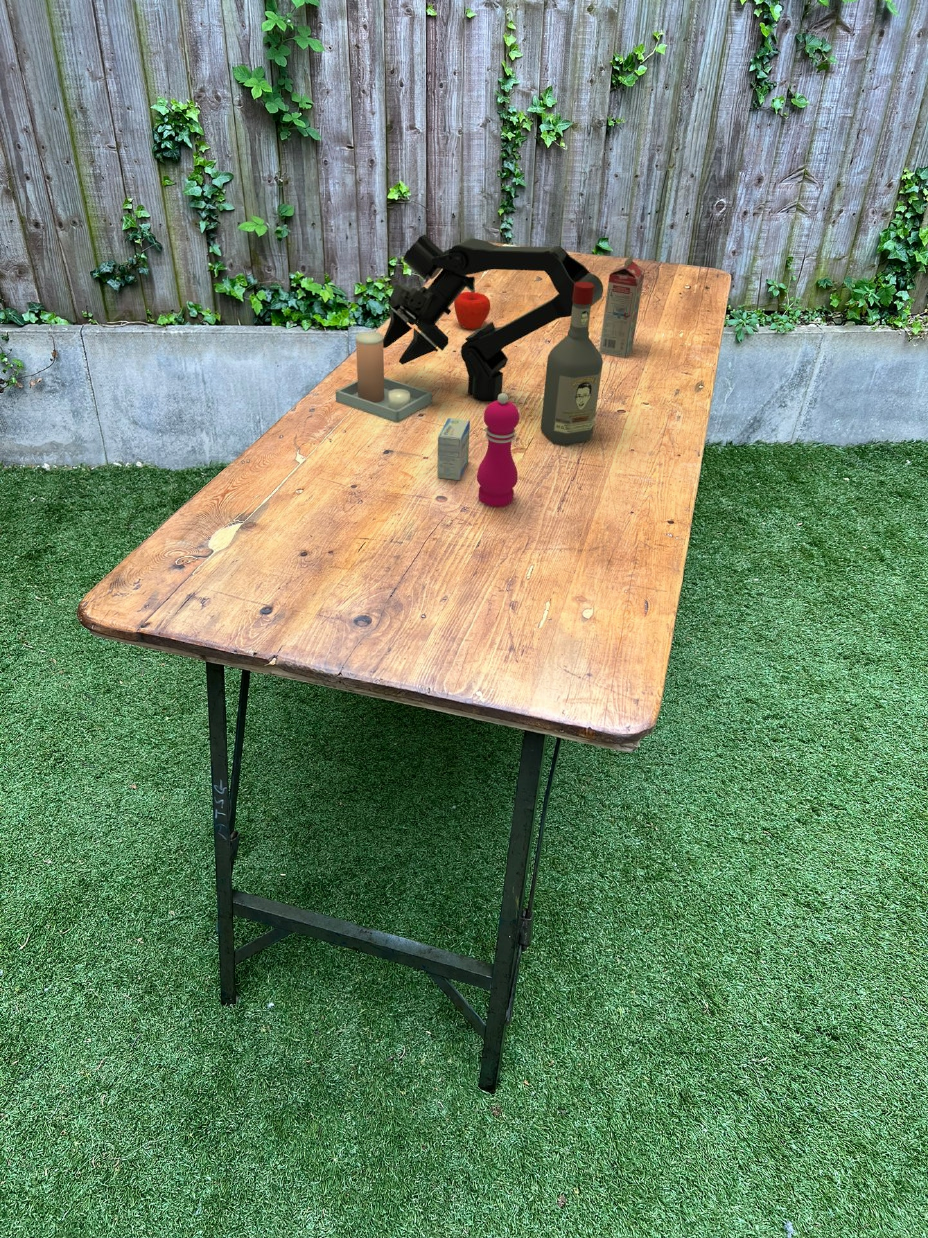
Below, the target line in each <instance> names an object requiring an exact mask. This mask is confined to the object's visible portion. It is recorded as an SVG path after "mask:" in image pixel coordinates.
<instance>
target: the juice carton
mask: <svg viewBox="0 0 928 1238" xmlns="http://www.w3.org/2000/svg"><path fill="white" fill-rule="evenodd" d="M633 259H634V253H631V254H630V255H629V257H628V258H627V259H626V260H625V261H624V263H621V264H619V265H617V266H615V268H614V269H613V270H612V271H611V272H610V273H609V277H608V278H609V279H608V283H607V284H608V285H607V290H606V298H605V306H604V312H603V313H604V314H603V319H602V326H601V333H600V341H599V349H598V351H599V353H600V354H601V355H605V356H610V357H611V356H612V357H615V358H622V359H627V357H628V356H629V354H630V353H631V352H632V350H633V347H634V341H635V336H636V335H635V334H636V329H637V323H638V315H639V310H640V303H641V298H642V297H641V296H642V290H643V285H644V278H645V270H644V268H642V267H641V266H639V265H638V264H637V263H635V262H634V261H633Z"/></svg>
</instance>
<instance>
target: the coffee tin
mask: <svg viewBox="0 0 928 1238" xmlns="http://www.w3.org/2000/svg"><path fill="white" fill-rule="evenodd" d="M383 339H384V335H383V334H382V333H380V332H378V331H361V332H358V333H357V334H356V335H355V348H356V350H355V351H356V352H355V353H356V370H357V371H356V372H357V374H356V375H357V380H358V397H359V398H361V399H364V400H367V401H370V402H373V403H376V402H380V401H382V400H383V399H384V377H385V364H384V363H385V360H384V356H385V355H384V348H383Z"/></svg>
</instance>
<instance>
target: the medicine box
mask: <svg viewBox="0 0 928 1238" xmlns="http://www.w3.org/2000/svg"><path fill="white" fill-rule="evenodd" d="M470 427H471V421H470V420H467V419H459V418H449V417H448V418H447V419H446V422H445V424H444V425H443V427H442V429H441V431H440V433H439V434H438V436H437V467H436V469H437V472H436V473H437V476H436V477H437V478H439V479H445V480H451V481H452V480H454V481H460V480H461V479H462V477H463V475H464V473H465V470H466V468H467V465H468V463H469V458H470V457H469V453H470V451H469V450H470V434H471V433H470V432H471V431H470V429H471V428H470Z"/></svg>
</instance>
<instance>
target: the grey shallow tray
mask: <svg viewBox="0 0 928 1238" xmlns="http://www.w3.org/2000/svg"><path fill="white" fill-rule="evenodd" d="M394 389H404V390H407V391H409V392H410V403H409V404H407V405H406V406H404V407H402V408H400V409H399V410H394V409H391V408H389V392H390V391H391V390H394ZM432 401H433V393H432V392H431V391H428V390H425V389H422V388H420V387H419V388H418V387H415V386H412V385H410V384H406V383H403V382H400V381H397V380H395V379H391V378H389V377H385V376H384V399H383V400H382V401H380V402H376V403H373V402H370V401H367V400H364V399H361V398H359V397H358V379H356V380H355V381H353V382H351V383H349V384H347V385H345V386H342V387H340V388H339V389H337V390H335V402H336V403H340V404H343V405H346V406H348V407H352V408H353V409H357V410H360V411H363V412H365V413H368V414H371V415H374V416H377V417H380V418H383V419H385V420H388V421H391V422H394V423H397V424H398V423H400V422H401V421H403V420H405V419H407V418H408V417H410V416H411V415H413V414H415V413H417V412H419V411H421V410H422V409H423V408H425V407H427V406H429V405H431V404H432V403H433V402H432Z"/></svg>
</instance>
